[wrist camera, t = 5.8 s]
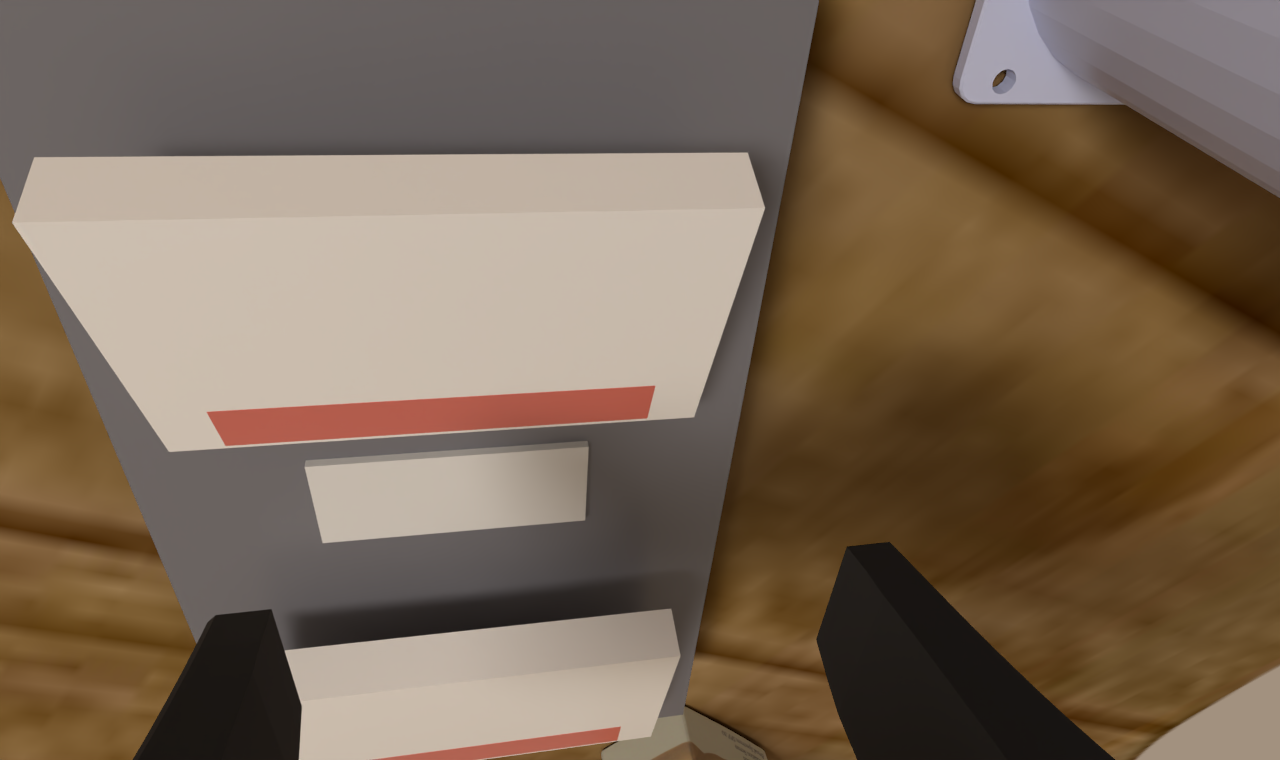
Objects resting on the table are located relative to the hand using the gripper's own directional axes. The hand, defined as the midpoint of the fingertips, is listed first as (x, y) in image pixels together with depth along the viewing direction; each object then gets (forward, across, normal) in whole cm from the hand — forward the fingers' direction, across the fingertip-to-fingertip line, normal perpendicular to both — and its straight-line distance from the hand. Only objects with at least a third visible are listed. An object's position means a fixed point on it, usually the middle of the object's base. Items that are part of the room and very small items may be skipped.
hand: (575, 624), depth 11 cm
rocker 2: (+6, +2, +11) cm, 13 cm away
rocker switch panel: (+10, +2, +5) cm, 12 cm away
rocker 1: (+6, +2, -1) cm, 7 cm away
